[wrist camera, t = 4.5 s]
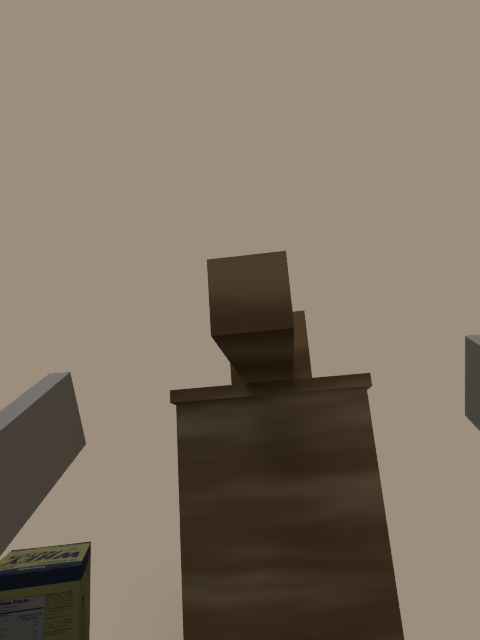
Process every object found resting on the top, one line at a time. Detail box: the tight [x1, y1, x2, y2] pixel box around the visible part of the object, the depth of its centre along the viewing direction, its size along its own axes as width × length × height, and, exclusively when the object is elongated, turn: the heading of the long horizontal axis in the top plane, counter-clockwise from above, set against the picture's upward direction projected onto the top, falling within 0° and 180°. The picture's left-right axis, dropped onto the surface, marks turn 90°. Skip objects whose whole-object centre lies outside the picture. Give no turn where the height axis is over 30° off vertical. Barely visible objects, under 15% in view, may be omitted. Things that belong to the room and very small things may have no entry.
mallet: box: [207, 251, 312, 385], centre depth 29 cm, size 24×6×6 cm, turn 174°
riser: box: [170, 373, 404, 640], centre depth 30 cm, size 13×13×30 cm
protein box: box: [0, 542, 91, 640], centre depth 53 cm, size 10×16×16 cm
